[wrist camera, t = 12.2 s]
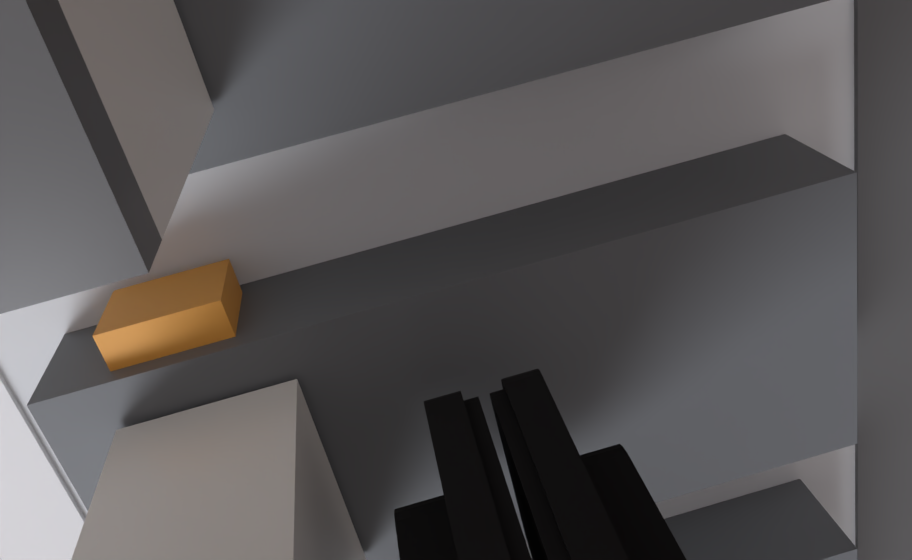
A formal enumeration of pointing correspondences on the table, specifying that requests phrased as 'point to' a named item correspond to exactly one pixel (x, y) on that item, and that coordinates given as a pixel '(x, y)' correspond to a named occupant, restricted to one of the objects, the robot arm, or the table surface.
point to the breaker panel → (523, 261)
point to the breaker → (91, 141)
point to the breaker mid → (221, 487)
